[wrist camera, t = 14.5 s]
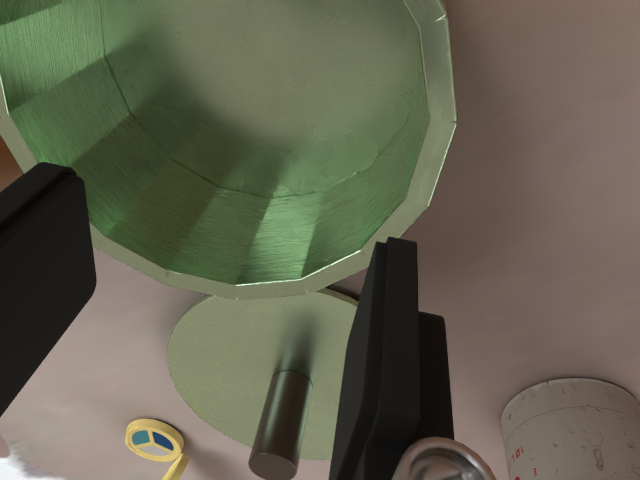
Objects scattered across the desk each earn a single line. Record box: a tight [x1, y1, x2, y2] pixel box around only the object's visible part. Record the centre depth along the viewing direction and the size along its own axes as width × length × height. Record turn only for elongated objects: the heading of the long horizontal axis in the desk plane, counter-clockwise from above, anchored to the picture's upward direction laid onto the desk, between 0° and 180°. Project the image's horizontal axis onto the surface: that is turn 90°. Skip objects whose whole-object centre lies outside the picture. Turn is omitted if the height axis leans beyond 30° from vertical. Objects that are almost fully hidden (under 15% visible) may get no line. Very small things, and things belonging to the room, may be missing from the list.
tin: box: [0, 0, 458, 300], centre depth 18 cm, size 15×15×7 cm
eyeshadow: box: [125, 419, 189, 480], centre depth 37 cm, size 4×5×5 cm
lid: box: [167, 288, 359, 480], centre depth 30 cm, size 16×16×7 cm
